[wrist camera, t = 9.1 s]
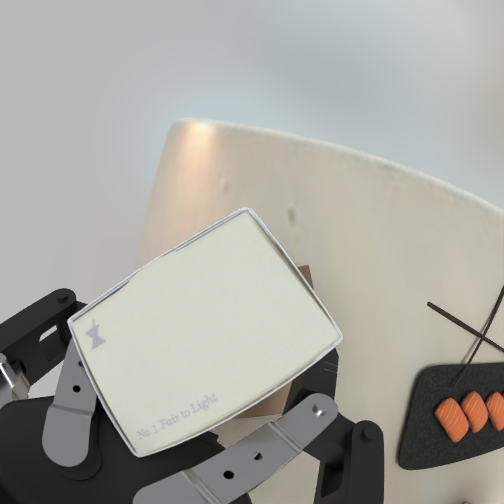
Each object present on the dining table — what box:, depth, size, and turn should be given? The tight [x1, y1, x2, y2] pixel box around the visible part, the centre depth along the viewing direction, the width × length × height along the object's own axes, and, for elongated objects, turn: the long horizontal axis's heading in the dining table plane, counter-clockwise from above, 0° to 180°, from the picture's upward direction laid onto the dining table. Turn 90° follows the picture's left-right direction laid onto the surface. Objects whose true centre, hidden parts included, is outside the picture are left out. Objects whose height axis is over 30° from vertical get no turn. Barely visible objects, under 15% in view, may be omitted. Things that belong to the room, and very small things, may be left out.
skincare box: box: [67, 207, 343, 457], centre depth 12 cm, size 6×4×12 cm
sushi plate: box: [399, 286, 504, 470], centre depth 24 cm, size 29×30×4 cm
